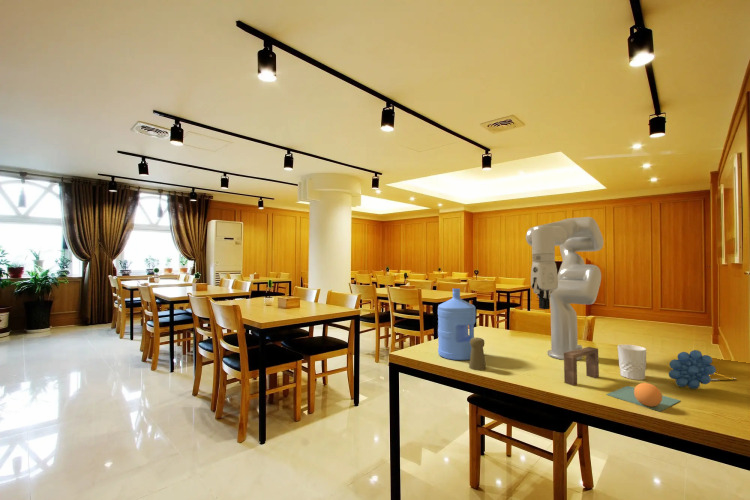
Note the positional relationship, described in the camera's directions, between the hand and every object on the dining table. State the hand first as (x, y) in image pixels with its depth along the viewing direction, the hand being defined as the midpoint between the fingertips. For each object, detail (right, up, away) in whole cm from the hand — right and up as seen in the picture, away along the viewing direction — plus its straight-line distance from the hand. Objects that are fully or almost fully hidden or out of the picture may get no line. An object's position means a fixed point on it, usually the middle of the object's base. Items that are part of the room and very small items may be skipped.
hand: (544, 308), depth 125 cm
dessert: (+51, -22, -8) cm, 56 cm away
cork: (-24, -23, +1) cm, 33 cm away
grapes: (+36, -22, -19) cm, 46 cm away
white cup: (+26, -22, -9) cm, 35 cm away
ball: (+13, -18, -32) cm, 39 cm away
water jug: (-28, -23, +18) cm, 40 cm away
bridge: (+7, -22, -12) cm, 26 cm away
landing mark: (+15, -21, -27) cm, 37 cm away
